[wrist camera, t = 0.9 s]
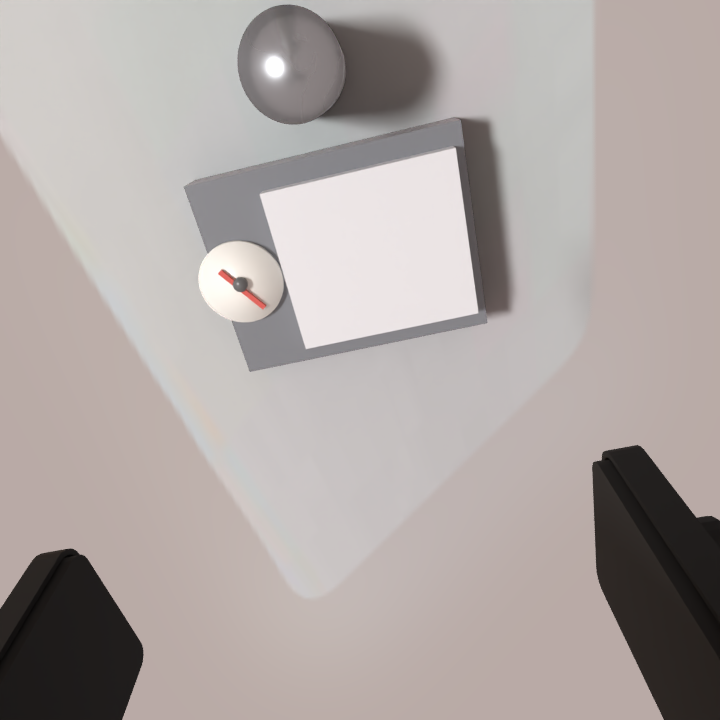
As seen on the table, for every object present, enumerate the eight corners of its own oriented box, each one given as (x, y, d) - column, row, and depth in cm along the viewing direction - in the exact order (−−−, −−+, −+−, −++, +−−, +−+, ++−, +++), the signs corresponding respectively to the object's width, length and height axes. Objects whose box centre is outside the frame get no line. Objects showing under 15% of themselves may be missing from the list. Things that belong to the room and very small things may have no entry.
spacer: (247, 32, 25) (223, 20, 20) (334, 9, 24) (328, -9, 20) (273, 126, 26) (256, 134, 22) (354, 106, 26) (353, 110, 21)
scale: (178, 184, 27) (160, 194, 25) (453, 117, 26) (463, 120, 24) (240, 358, 32) (231, 382, 29) (479, 309, 31) (490, 329, 28)
